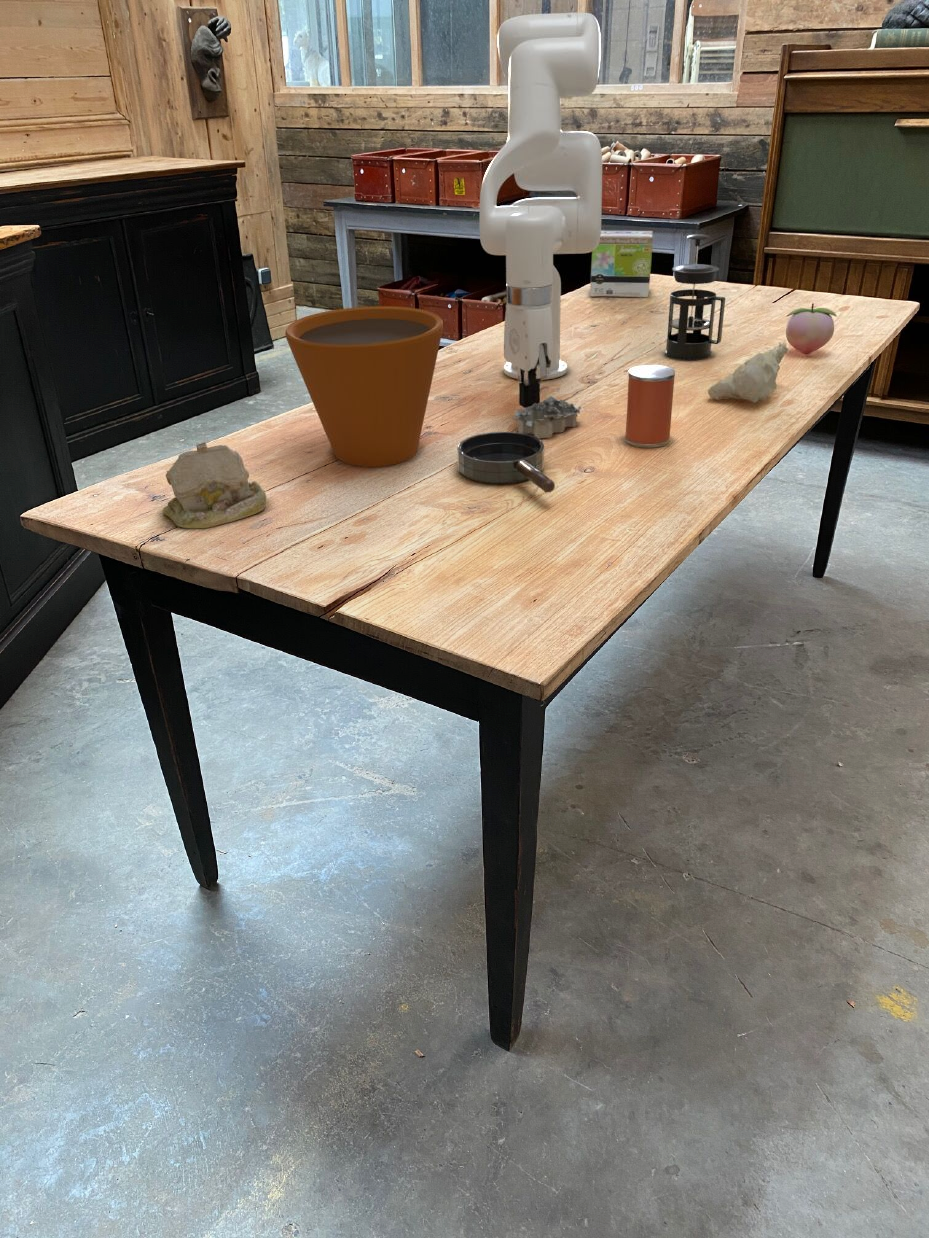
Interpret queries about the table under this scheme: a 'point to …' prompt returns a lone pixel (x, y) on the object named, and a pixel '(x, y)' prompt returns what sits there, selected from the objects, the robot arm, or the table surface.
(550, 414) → the egg carton
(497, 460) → the black pan
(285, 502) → the table surface
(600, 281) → the tea box
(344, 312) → the flower pot
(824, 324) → the decorative fruit
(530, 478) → the pan handle
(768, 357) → the holed limestone rock
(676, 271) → the french press
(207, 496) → the ceramic model
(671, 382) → the tin can
